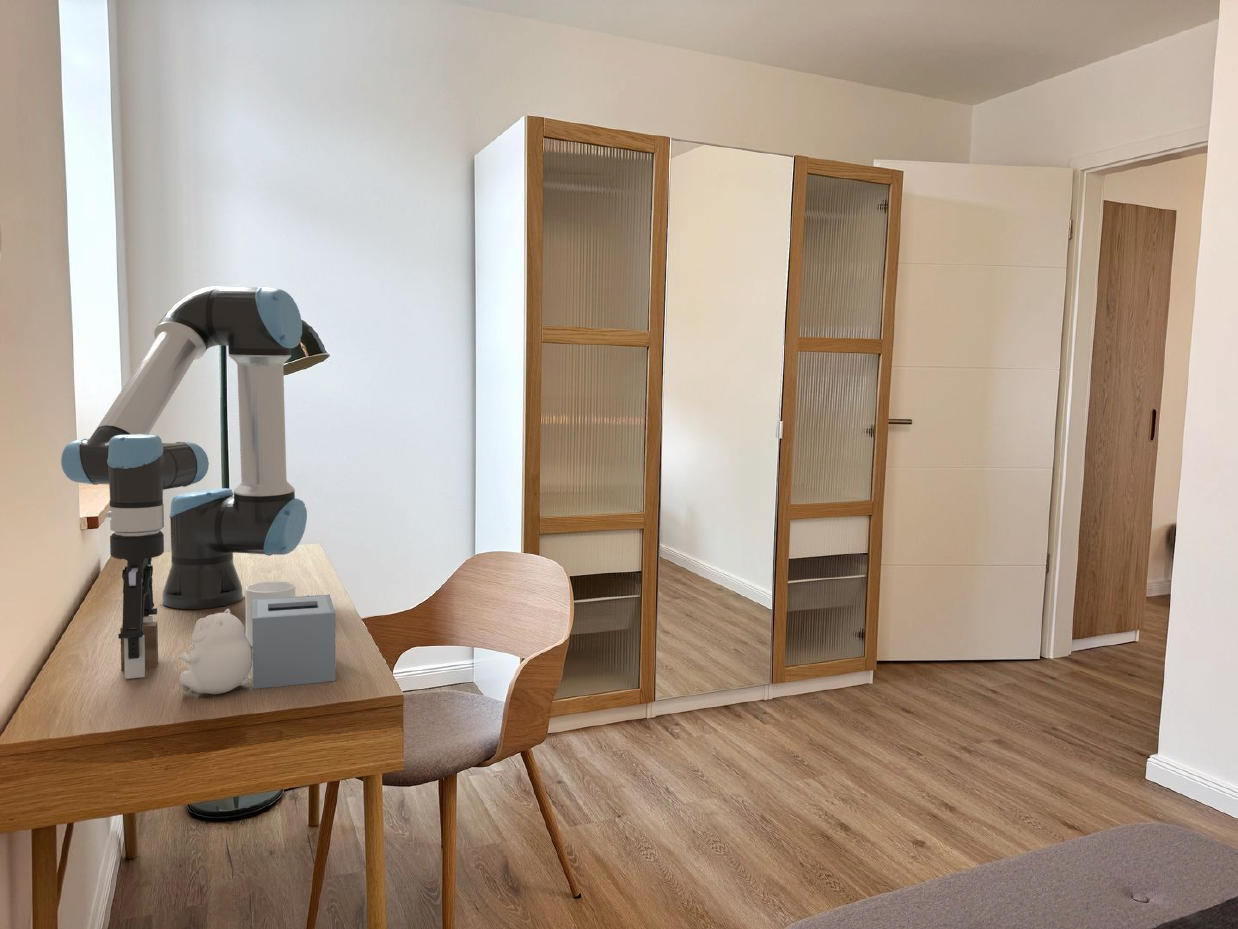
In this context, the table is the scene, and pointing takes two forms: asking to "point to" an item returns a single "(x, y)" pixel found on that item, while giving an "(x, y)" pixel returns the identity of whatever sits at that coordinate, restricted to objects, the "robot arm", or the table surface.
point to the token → (146, 645)
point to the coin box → (293, 641)
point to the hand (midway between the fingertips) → (139, 665)
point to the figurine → (217, 655)
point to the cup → (261, 592)
